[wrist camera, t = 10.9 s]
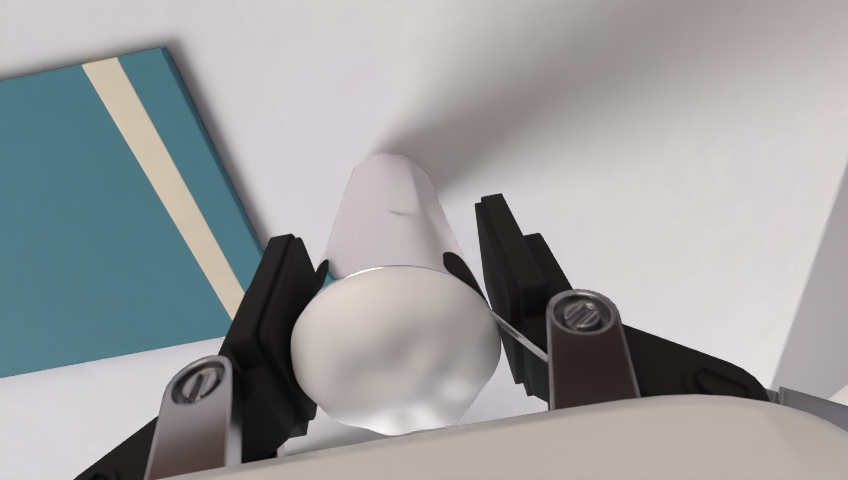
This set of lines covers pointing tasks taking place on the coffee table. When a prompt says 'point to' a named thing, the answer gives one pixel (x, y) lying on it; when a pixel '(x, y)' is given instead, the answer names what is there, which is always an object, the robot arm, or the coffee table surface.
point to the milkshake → (395, 310)
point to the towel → (113, 216)
